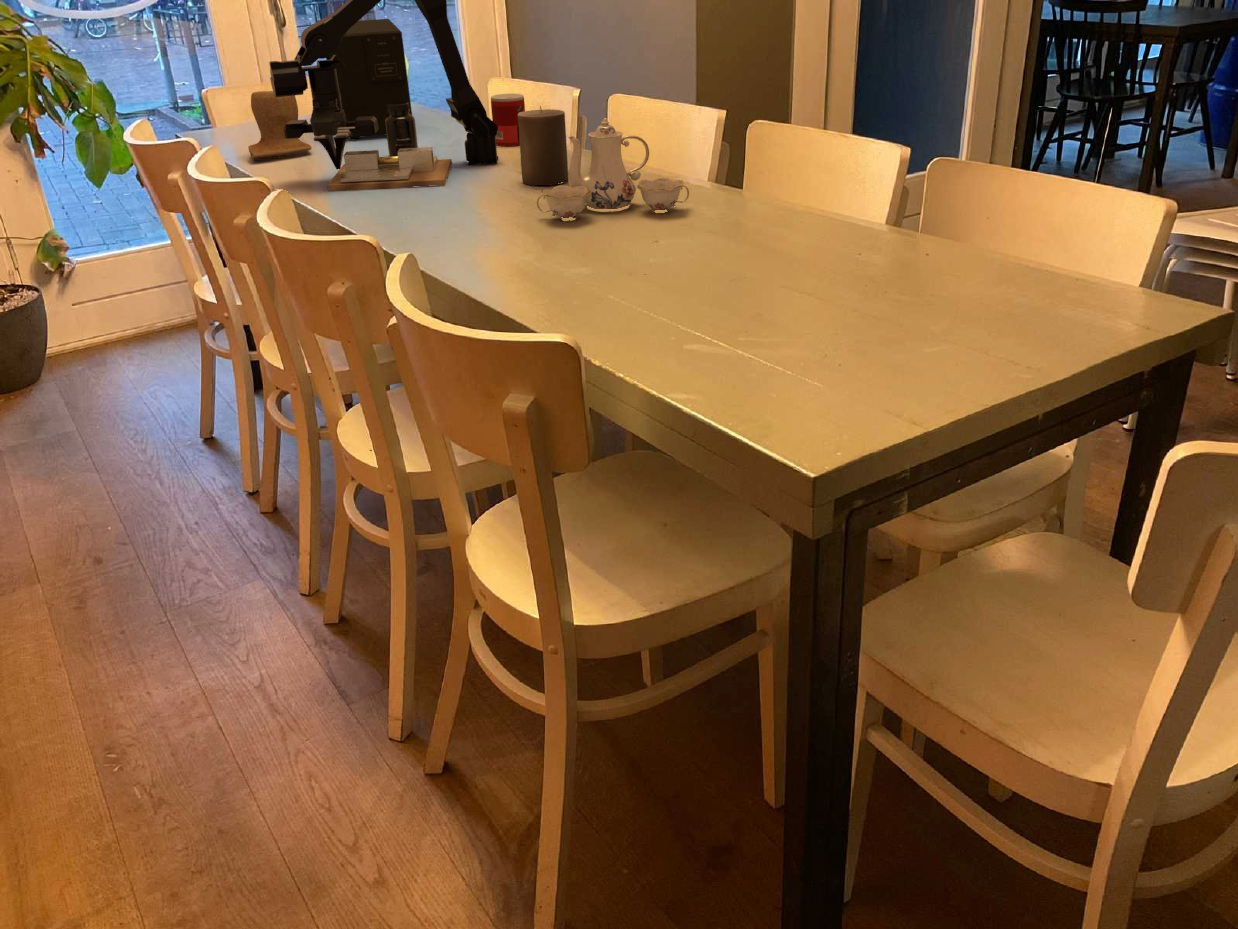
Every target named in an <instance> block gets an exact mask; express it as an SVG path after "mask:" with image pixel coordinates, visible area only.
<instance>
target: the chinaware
mask: <svg viewBox="0 0 1238 929" xmlns="http://www.w3.org/2000/svg"><path fill="white" fill-rule="evenodd" d="M623 135H624V132H623V131H619V130H618V131H617V130H616V129H615V127H614V126H613V125H612V124H611V125H610V122H609V120H608V119H607V118H606V117H604V118H603V119H602V121H601V122H600V125H598V126H597V127H596V129H595V130H594V131H593V132H589V133H588V134H587V136H588V137H589V141H590V147H591V159H590V160H591V162H590V166H589V172H588V174H587V175H585V176H582V172H581V170H582V168H581V166H582V144H581V142H580V140H579V139H578V138H577V137H575V136H568V137H567V138H568V140H569V141H570V142H571V143H572V145H573V146H572V147H573V151H572V154H571V160H570V164H569V166H568V181H567V182H568V185H563V184H560V185H559V184H558V185H555V186H554V187H553V188H552V189H547V188H546V189H543V190H542V194H541V195H540V196H538V198H537V200H536V206H537V208H538V210H539V211H540V212H542V213H548V212H549V213H550V212H551V217H552V216H555V215H556V216H557V217H559V218H561V217H563V218H569V217H574V216H575V217H576V216H579V215H580V213H582V211H583V210H584V207H586V206H589V207H591V208H594V209H618V208H622V207H625V206H628V205H629V204H630V203H631V202H632V200H633V199H634V196H635V194H636V193H637V192H636V191H637V189H638V190H639V191H640V195H641V198H642V200H643V202H644V203H645V204H646V205H647V206H648V207H649V208H650V209H652V210H665V209H667V210H668V209H670V208H673V207H674V206H676V203H681V204H683V203H685V202H687V200H688V199H689V197H690V191H689V188H688V187H687V186H686V185H684V181H683V180H682V179H681V180H680V179H678V180H674V181H673V180H672V179H670V178H668V177H657V178H656V179H653V180H648V179H641V180H640V181H639V182H638V184H637V185H635V181H638V180H639V179H640V177H641V175H642V174H641V172H640V171H639V170H641V169H643V168H644V167H645V166H646V164H647V163H648V160H649V157H650V148H649V145H648V143H647V142H646V141H645V139H643V138H642V137H640V136H638V135H626V136H624V137H623ZM627 139H630V140H631V139H633V140H637V141H638V142H641V143H642V145H643V147H644V148H645V156H644V159H643V161H642V163H641V164H639V165H638V166H637V167H635V168H632V169H630V170H628V171H627V169H626V167H625V163H624V161H623V157H622V146H624V148H625V147H629V146H630V142H629V140H627ZM633 181H634V182H633ZM683 188H685V189H686V193H687V194H686V197H685V198H684V199H683V200H681V201H680V200H678V199H679V197H680V193H681V191H682V190H683ZM542 197H543V199H544V200H546V202H547V205H548V208H549V210H544V209H542V208H541V207H540V205H539V201H540V199H541V198H542ZM585 205H586V206H585ZM630 205H631V204H630ZM672 206H673V207H672ZM556 216H555V217H556Z"/></svg>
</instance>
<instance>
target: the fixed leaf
mask: <svg viewBox="0 0 1238 929" xmlns="http://www.w3.org/2000/svg"><path fill="white" fill-rule="evenodd" d="M433 150H434V149H433V146H427V147H424V146H423V147H418V148H403V149H399V150H398V160H399V164H386V165H381V170H382V169H403V168H412V173H415V172H433V171H434V168H435V166H436V164H437V161H438V160H439V159H438V156H437V155H434V151H433Z"/></svg>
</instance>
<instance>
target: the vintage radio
mask: <svg viewBox="0 0 1238 929" xmlns="http://www.w3.org/2000/svg"><path fill="white" fill-rule="evenodd" d="M404 47H405V46H404V39H403V32H402V30H400V28H398V26H396V25H395V23H393V22H392V20H390V18H381V19H380V18H378V19H377V18H376V19H363V20H359V21H358V22H356V23H355V24H354V25H353V26H352V27H351V28H350V29H349V30H348V31H347V32H346V33H345V35H344V37H343V38H342V40H341V41H340V43H339V44H338V46H337V47H336V48H335V50H334V51H333V52H332V53H331V55H330V56H328V57H326V58H325V60H330V59H331V58H332V57H333V55H335V56H337V58H338V59H339V60H340V61H341V62H342V63H344V64H345V65H346V67H345V68H337V69H336V72H337V78H338V84H339V90H340V95H341V102H342V109H343V110H344V112H345V115H346V119H347V122H352V121H355V120H356V119H357V118H358V117H367V116H374V117H375V118H376V119H377V121H378V127H379V129H378V131H377V132H376V133H375V134H368V135H359V134H358V133H357V132H356V131H351V132H352V136H351V137H350V138H349V140H352V141H355V140H360V139H361V138H363V137H364V138H365V137H375V136H387V134H386V126H385V119H386V117H387V116H388V115H389V112H388V103H391V102H408V103H409V109H410V111H409V114H411V115H412V116H413V112H412V103H411V95H410V88H409V79H408V72H407V64H406V56H405V48H404Z"/></svg>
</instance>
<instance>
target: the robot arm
mask: <svg viewBox="0 0 1238 929" xmlns="http://www.w3.org/2000/svg"><path fill="white" fill-rule="evenodd" d="M381 1H382V0H346V2H344V4H342V5H341V6H340V7H339V8H337V9H336V10H335V11H334V12H333V13H331V14H330V15H328V16H326V17H324V18H321V19H319V20H318V21H315V22H314V23H313V24H311V25H308V26H307V27H306V28H305V29H303V31H302V32H301V35H300V43H301V45H300V47H299V49H298V52H297V53H296V55H295V57H294V60H283V61H280V60H279V61H278V60H273V61H272V60H271V61H269V62H268V63H269V64H268V65H269V72H270V77H269V79H270V84H271V88H272V91H273V93H274V96H275V97H285V96H295V97H296V96H303V95H304V92H306V90H308V89H309V88H310V92H311V97H312V112H311V116H310V121H309V122H310V123H308V121H307V119H298V120H290V121H289V122H288V123H287V124H286V125H285V126H284V134H285V138H287V139H290V138H298V139H300V138H301V137H302V136H303V135H304V134H313V141H314V142H319V144H320V145H322V146H323V148H324V149H325V151H326V153H327V155H328V157H329V158H330V160H331V162H332V164H333V165H334V167H335V169H336V170H340V169H341V167H342V164H343V162H342V161H343V158H344V152H345V151H344V150H345V146H346V143H347V140H350V137H351V136H352V132H351V131H356V132H357V133H358V134H359V135H368V134H375V133H376V132H377V131H378V129H379V127H378V121H377V119H376V118H375V117H374V116H367V117H358V118H357V119H356V120H355V121H352V122H347V119H346V115H345V112H344V110H343V109H342V102H341V95H340V90H339V84H338V78H337V72H336V69H337V68H345V67H346V65H345V64H344V63H342V62H341V61H340V60H339V59H338V58H337V56H335V55H333V57H332V58H331V59H330V60H326V57H328V56H330V55H331V53H332V52H333V51H334V50H335V48H336V47H337V46H338V44H339V43H340V41H341V40H342V38H343V37H344V35H345V33H346V32H347V31H348V30H349V29H350V28H351V27H352V26H353V25H354V24H355V23H356V22H358V21H361V19H362V18H363V17H364V16H366V15H367V14H369V12H370V11H371V10H373V8H375V7H376V6H377V5H378V4H379V3H381ZM414 2H415V4H416V6H417V8H418V9H419V11H420V13H421V15H422V16H423V17H424V19H425V20H426V22H427V24H428V27H429V30H430V32H431V35H432V38H433V41H434V43H435V46H436V49H437V52H438V56H439V58H440V61H441V63H442V66H443V69H444V72H445V75H446V77H447V81H448V83H449V87H450V93H451V94H450V96H451V97H447V98H445V101H446V104H447V106H448V107H449V110H450V117H452V118H453V119H455V120H456V122H457V123H458V124H460V125H461V126H462V127H463V128H464V130H465V132H466V139H465V141H464V150H465V158H466V162H467V165H468V166H473V165H474V166H475V165H476V166H478V165H493V164H495V165H496V164H498V162H499V155H498V151H497V150H498V148H497V147H498V146H497V145H496V134H497V130H498V125H496V124H495V123H494V122H493V120H492V118H490V117H488V114H487V110H486V109H485V107H484V105H483V103H482V101H481V99H480V97H479V95H478V94H477V93H476V91H475V90H474V88H473V86H472V84H471V83H470V80H469V77H468V74H467V71H466V69H465V65H464V62H463V60H462V57H461V54H460V51H459V47H458V46H457V42H456V40H455V36H454V33H453V30H452V27H451V24H450V22H449V19H448V3H447V0H414ZM320 59H321V60H320ZM315 62H316V64H315V65H313V64H314V63H315ZM306 73H307V74H306ZM307 76H308V79H307ZM308 82H309V84H308ZM308 85H309V86H310V87H308Z"/></svg>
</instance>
